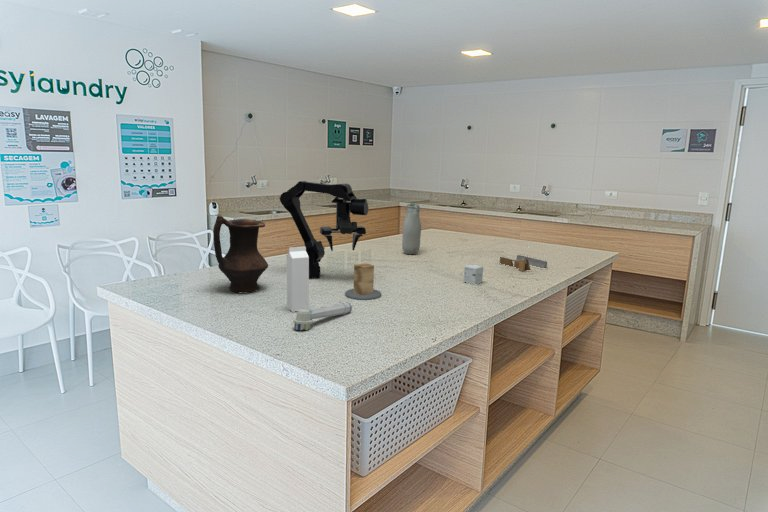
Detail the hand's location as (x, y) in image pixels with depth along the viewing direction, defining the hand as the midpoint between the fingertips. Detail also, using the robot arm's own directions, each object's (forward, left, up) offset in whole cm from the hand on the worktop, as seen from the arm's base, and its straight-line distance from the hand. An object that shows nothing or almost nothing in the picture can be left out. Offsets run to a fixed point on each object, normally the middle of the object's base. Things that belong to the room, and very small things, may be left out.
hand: (342, 250), depth 217 cm
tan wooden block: (+3, -24, -12) cm, 27 cm away
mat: (+3, -24, -13) cm, 27 cm away
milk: (-24, -37, -13) cm, 46 cm away
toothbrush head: (-18, -51, -14) cm, 56 cm away
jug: (-42, -8, -13) cm, 45 cm away
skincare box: (+55, -14, -13) cm, 58 cm away
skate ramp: (+91, +11, -14) cm, 92 cm away
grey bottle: (+50, +51, -13) cm, 73 cm away
